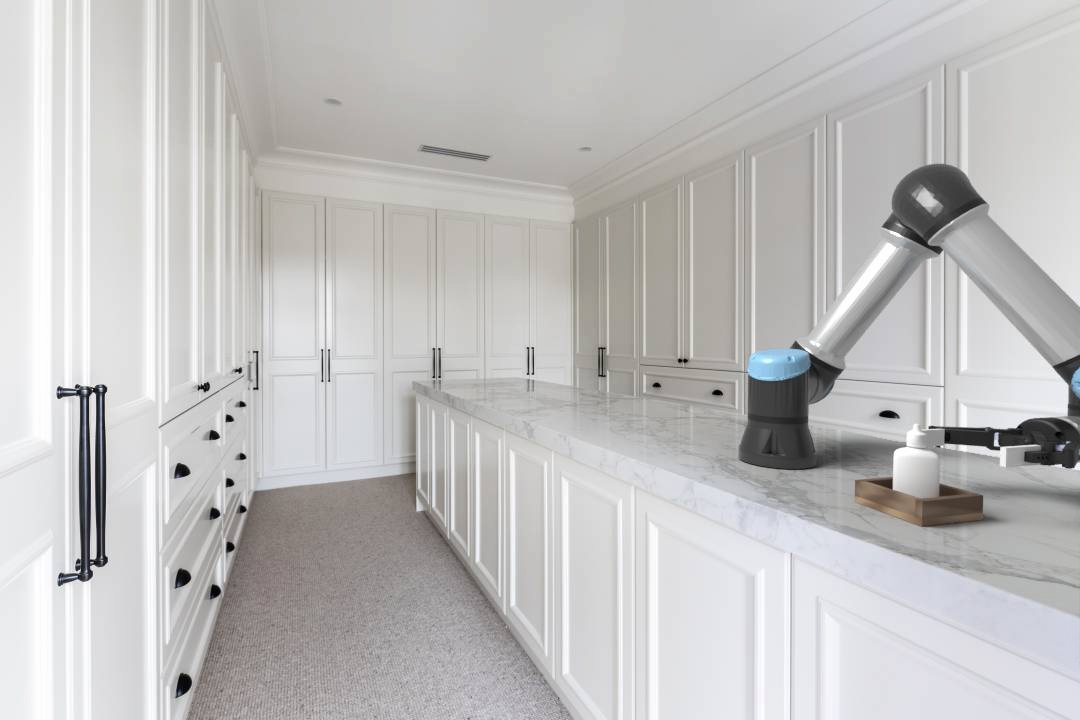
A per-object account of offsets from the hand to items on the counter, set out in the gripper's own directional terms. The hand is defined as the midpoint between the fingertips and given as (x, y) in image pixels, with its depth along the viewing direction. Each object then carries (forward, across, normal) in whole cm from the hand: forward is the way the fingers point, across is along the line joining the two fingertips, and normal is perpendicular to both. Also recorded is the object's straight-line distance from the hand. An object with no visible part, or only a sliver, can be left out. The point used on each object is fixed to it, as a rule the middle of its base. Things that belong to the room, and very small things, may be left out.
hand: (952, 447), depth 78 cm
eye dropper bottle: (+6, 0, -8) cm, 11 cm away
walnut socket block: (+6, 0, -9) cm, 11 cm away
